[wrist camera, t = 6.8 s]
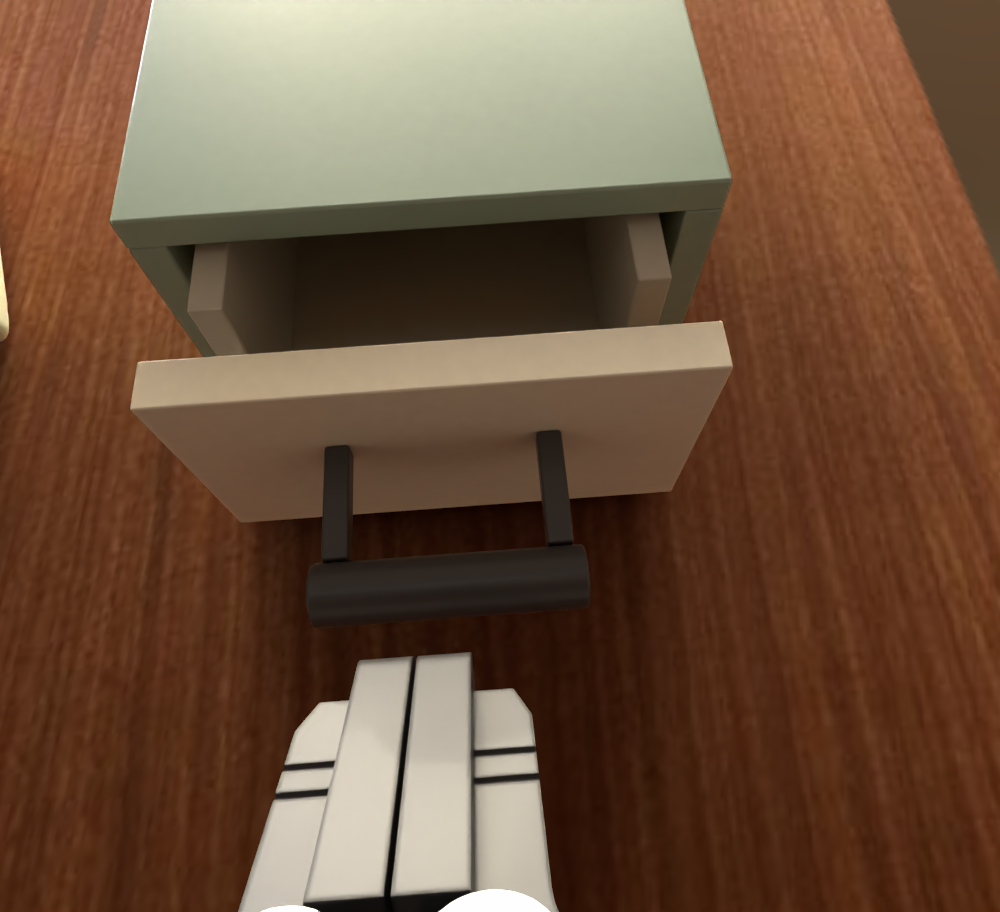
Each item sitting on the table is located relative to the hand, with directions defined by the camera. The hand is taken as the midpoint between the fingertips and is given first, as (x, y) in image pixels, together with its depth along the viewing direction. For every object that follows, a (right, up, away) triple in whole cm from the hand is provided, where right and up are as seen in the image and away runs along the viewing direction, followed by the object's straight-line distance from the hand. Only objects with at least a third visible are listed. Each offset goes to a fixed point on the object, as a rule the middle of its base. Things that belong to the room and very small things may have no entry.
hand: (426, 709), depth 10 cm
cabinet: (-1, +13, +18) cm, 22 cm away
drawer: (-1, +8, +14) cm, 16 cm away
